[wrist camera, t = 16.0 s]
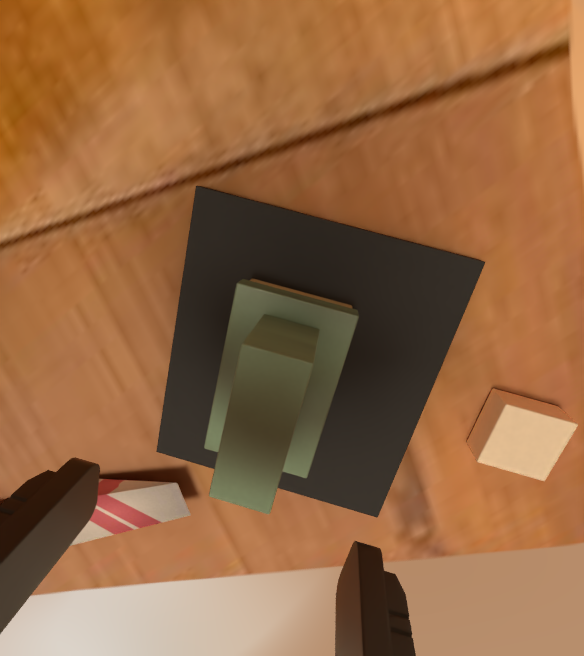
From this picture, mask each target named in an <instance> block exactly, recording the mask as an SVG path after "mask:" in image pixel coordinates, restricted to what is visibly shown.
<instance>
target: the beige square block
mask: <svg viewBox="0 0 584 656" xmlns="http://www.w3.org/2000/svg"><path fill="white" fill-rule="evenodd" d="M577 426H578V424H577V423H576V422H575V421H574V420H573V419H572V418H571V417H569V416H568V415H567V414H566V413H565V412H564V411H563V410H562V409H561V408H560V407H558V406H555V405H552V404H548V403H545V402H541V401H537V400H534V399H530V398H527V397H523V396H519V395H516V394H512V393H509V392H505V391H501V390H498V389H494V388H493V389H492V390H491V392H490V394H489V397H488V399H487V401H486V403H485V405H484V407H483V409H482V411H481V413H480V415H479V417H478V419H477V421H476V423H475V425H474V427H473V430H472V432H471V434H470V436H469V438H468V440H467V444H468V446H469V448H470V449H471V451H472V453H473V455H474V457H475V459H476V461H477V462H479V463H483V464H486V465H490V466H493V467H496V468H500V469H503V470H507V471H510V472H514V473H517V474H521V475H524V476H528V477H531V478H535V479H538V480H542V481H545V480H546V478H547V476H548V475H549V473H550V471H551V470H552V468H553V466H554V465H555V463H556V461H557V460H558V458H559V456H560V455H561V453H562V451H563V450H564V448H565V446H566V445H567V443H568V441H569V440H570V438H571V436H572V435H573V433H574V431H575V429H576V428H577Z"/></svg>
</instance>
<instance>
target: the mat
mask: <svg viewBox="0 0 584 656" xmlns="http://www.w3.org/2000/svg"><path fill="white" fill-rule="evenodd" d="M484 264H485V262H484V261H481V260H477V259H473V258H470V257H466V256H462V255H458V254H455V253H451V252H447V251H443V250H439V249H436V248H432V247H428V246H424V245H420V244H417V243H413V242H409V241H405V240H402V239H398V238H394V237H390V236H386V235H383V234H379V233H375V232H371V231H367V230H364V229H360V228H356V227H352V226H349V225H345V224H341V223H337V222H333V221H330V220H326V219H322V218H318V217H314V216H311V215H307V214H303V213H299V212H296V211H292V210H288V209H284V208H280V207H277V206H273V205H269V204H265V203H261V202H258V201H254V200H250V199H246V198H243V197H239V196H235V195H231V194H227V193H224V192H220V191H216V190H212V189H208V188H205V187H201V186H196V191H195V198H194V204H193V211H192V218H191V224H190V231H189V238H188V245H187V251H186V258H185V265H184V271H183V278H182V285H181V291H180V298H179V305H178V312H177V318H176V325H175V332H174V338H173V345H172V352H171V358H170V365H169V372H168V379H167V385H166V392H165V399H164V405H163V412H162V419H161V426H160V432H159V439H158V446H157V452H159V453H163V454H166V455H169V456H173V457H176V458H179V459H183V460H186V461H190V462H193V463H196V464H200V465H203V466H206V467H210V468H213V469H215V465H216V460H217V455H218V452H215V451H212V450H209V449H205V448H204V445H205V440H206V435H207V430H208V425H209V420H210V415H211V410H212V405H213V400H214V395H215V390H216V385H217V380H218V375H219V370H220V365H221V360H222V355H223V350H224V345H225V340H226V335H227V330H228V325H229V320H230V315H231V310H232V305H233V300H234V294H235V289H236V284H237V283H238V282H239V281H240V280H242V279H246V280H251V279H257V280H260V281H264V282H268V283H271V284H275V285H279V286H282V287H286V288H290V289H293V290H297V291H301V292H304V293H308V294H312V295H315V296H319V297H323V298H326V299H330V300H334V301H337V302H341V303H345V304H348V305H352V308H353V309H356V310H358V315H359V318H358V321H357V325H356V328H355V331H354V334H353V337H352V340H351V343H350V346H349V349H348V352H347V356H346V359H345V362H344V365H343V368H342V371H341V374H340V377H339V380H338V384H337V387H336V390H335V393H334V396H333V399H332V402H331V405H330V408H329V411H328V415H327V418H326V421H325V424H324V427H323V430H322V433H321V436H320V439H319V442H318V446H317V449H316V452H315V455H314V458H313V461H312V464H311V467H310V470H309V473H308V477H307V478H303V477H300V476H297V475H293V474H290V473H287V472H283V471H282V474H281V478H280V481H279V485H278V488H280V489H283V490H287V491H290V492H294V493H297V494H300V495H304V496H307V497H310V498H314V499H317V500H320V501H324V502H327V503H330V504H334V505H337V506H340V507H344V508H347V509H351V510H354V511H357V512H361V513H364V514H367V515H371V516H374V517H378V515H379V513H380V510H381V508H382V506H383V503H384V501H385V499H386V496H387V494H388V491H389V489H390V487H391V484H392V482H393V480H394V477H395V475H396V472H397V470H398V468H399V465H400V463H401V461H402V458H403V456H404V454H405V451H406V449H407V446H408V444H409V442H410V439H411V437H412V435H413V432H414V430H415V428H416V425H417V423H418V420H419V418H420V416H421V413H422V411H423V409H424V406H425V404H426V402H427V399H428V397H429V394H430V392H431V390H432V387H433V385H434V383H435V380H436V378H437V375H438V373H439V371H440V368H441V366H442V364H443V361H444V359H445V357H446V354H447V352H448V349H449V347H450V345H451V342H452V340H453V338H454V335H455V333H456V331H457V328H458V326H459V323H460V321H461V319H462V316H463V314H464V312H465V309H466V307H467V305H468V302H469V300H470V297H471V295H472V293H473V290H474V288H475V286H476V283H477V281H478V278H479V276H480V274H481V271H482V269H483V267H484Z"/></svg>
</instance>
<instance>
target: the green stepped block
mask: <svg viewBox="0 0 584 656" xmlns="http://www.w3.org/2000/svg"><path fill="white" fill-rule="evenodd" d="M358 318H359V315H358V310H356V309H353V308H352V305H348V304H345V303H341V302H337V301H334V300H330V299H326V298H323V297H319V296H315V295H312V294H308V293H304V292H301V291H297V290H293V289H290V288H286V287H282V286H279V285H275V284H271V283H268V282H264V281H260V280H257V279H251V280H246V279H242V280H240V281H239V282H238V283H237V284H236V289H235V294H234V300H233V305H232V310H231V315H230V320H229V325H228V330H227V335H226V340H225V345H224V350H223V355H222V360H221V365H220V370H219V375H218V380H217V385H216V390H215V395H214V400H213V405H212V410H211V415H210V420H209V425H208V430H207V435H206V440H205V445H204V448H205V449H209V450H212V451H215V452H218V455H217V460H216V465H215V469H214V474H213V478H212V483H211V488H210V492H209V496H210V497H213V498H216V499H219V500H223V501H226V502H229V503H233V504H236V505H239V506H243V507H246V508H249V509H253V510H256V511H259V512H262V513H266V514H270V512H271V509H272V505H273V502H274V498H275V495H276V492H277V488H278V485H279V481H280V478H281V474H282V471H283V472H287V473H290V474H293V475H297V476H300V477H303V478H307V477H308V473H309V470H310V467H311V464H312V461H313V458H314V455H315V452H316V449H317V446H318V442H319V439H320V436H321V433H322V430H323V427H324V424H325V421H326V418H327V415H328V411H329V408H330V405H331V402H332V399H333V396H334V393H335V390H336V387H337V384H338V380H339V377H340V374H341V371H342V368H343V365H344V362H345V359H346V356H347V352H348V349H349V346H350V343H351V340H352V337H353V334H354V331H355V328H356V325H357V321H358Z"/></svg>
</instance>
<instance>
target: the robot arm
mask: <svg viewBox="0 0 584 656" xmlns="http://www.w3.org/2000/svg"><path fill="white" fill-rule="evenodd" d="M99 472H100V467H99V465H98V464H95V463H92V462H89V461H85V460H82V459H78V458H72V459H70V460H69V461H68V462H66V463H65V464H64V465H63V466H62V467H61V468H60V469H59V470H58V471H57V472H53V471H50V470H47V471H45V472H43V473H41V474H39V475H37V476H35V477H34V478H32V479H30V480H28V481H27V482H25V483H24V484H23V485H22V486H21V487H20V488H19V489H18V490H16V491H15V492H14V493H13V494H12V495H11V497H10V498H7V499H6V500H5V501H4V502H3V503H2V504H1V505H0V633H1V632H2V631H3V629H4V628H5V627H6V626H7V625H8V623H9V622H10V621H11V619H12V618H13V617H14V616H15V615H16V613H17V612H18V611H19V609H20V608H21V607H22V606H23V604H24V603H25V602H26V600H27V599H28V598H29V597H30V595H31V594H32V593H33V592H34V590H35V589H36V588H37V587H38V585H39V584H40V583H41V582H42V580H43V579H44V578H45V576H46V575H47V574H48V573H49V571H50V570H51V569H52V568H53V566H54V565H55V564H56V562H57V561H58V560H59V559H60V557H61V556H62V555H63V554H64V552H65V551H66V550H67V549H68V547H69V546H70V545H71V543H72V542H73V541H74V540H75V538H76V537H77V536H78V535H79V533H80V532H81V531H82V529H83V528H84V527H85V526H86V524H87V523H88V522H89V520H90V518H91V517H92V515H93V513H94V510H95V508H96V505H97V499H98V485H99ZM335 656H416V655H415V649H414V643H413V638H412V631H411V625H410V620H409V613H408V607H407V600H406V595H405V592H404V591H403V589H402V586H401V585H400V582H399V581H398V578H397V576H396V575H395V574H393V573H389V572H386V571H384V568H383V560H382V553H381V550H380V548H377V547H374V546H370V545H367V544H364V543H360V542H357V541H355V542H354V543H353V545H352V547H351V550H350V552H349V554H348V557H347V559H346V562H345V564H344V566H343V569H342V571H341V574H340V577H339V580H338V585H337V593H336V634H335Z"/></svg>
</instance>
